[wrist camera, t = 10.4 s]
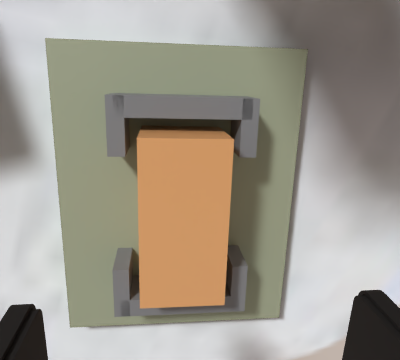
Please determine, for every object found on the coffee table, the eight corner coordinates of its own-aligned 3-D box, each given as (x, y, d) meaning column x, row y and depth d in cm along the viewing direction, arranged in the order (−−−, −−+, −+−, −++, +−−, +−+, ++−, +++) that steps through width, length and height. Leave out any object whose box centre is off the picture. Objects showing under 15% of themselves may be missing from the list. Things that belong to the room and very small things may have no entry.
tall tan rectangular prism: (141, 125, 22) (136, 138, 18) (218, 126, 23) (234, 139, 18) (143, 264, 25) (139, 308, 20) (212, 263, 26) (224, 305, 21)
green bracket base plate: (52, 40, 22) (26, 31, 18) (298, 51, 24) (329, 44, 19) (74, 314, 27) (58, 358, 23) (273, 305, 29) (292, 345, 25)
